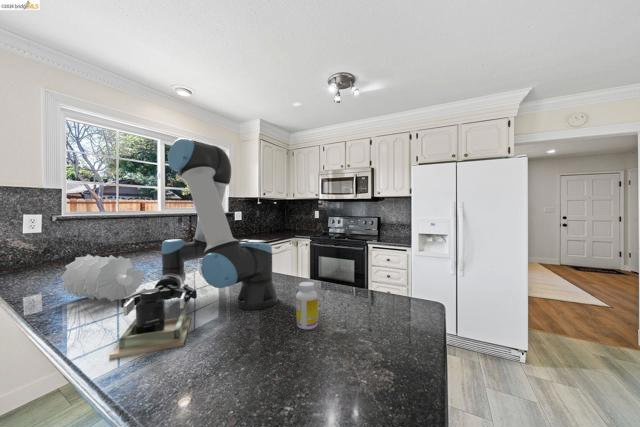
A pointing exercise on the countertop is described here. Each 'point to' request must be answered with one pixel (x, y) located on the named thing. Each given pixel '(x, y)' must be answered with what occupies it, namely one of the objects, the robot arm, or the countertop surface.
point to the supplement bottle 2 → (307, 306)
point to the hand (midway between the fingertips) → (154, 307)
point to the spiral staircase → (102, 277)
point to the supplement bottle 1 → (150, 312)
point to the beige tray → (153, 338)
